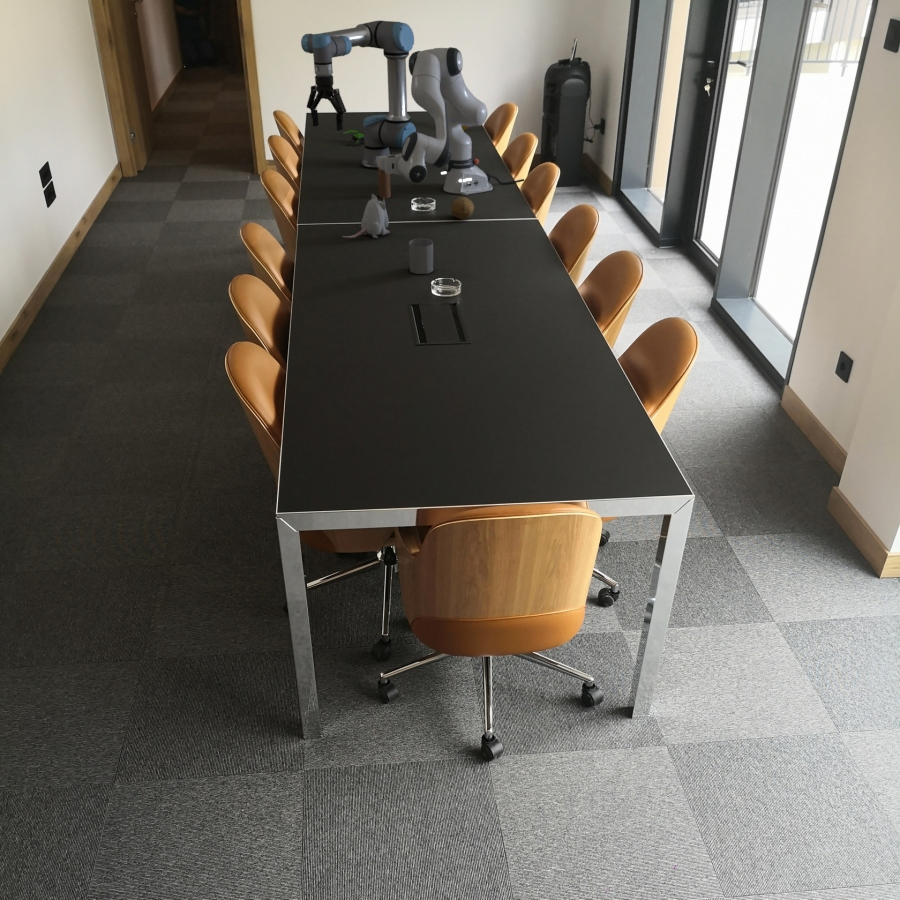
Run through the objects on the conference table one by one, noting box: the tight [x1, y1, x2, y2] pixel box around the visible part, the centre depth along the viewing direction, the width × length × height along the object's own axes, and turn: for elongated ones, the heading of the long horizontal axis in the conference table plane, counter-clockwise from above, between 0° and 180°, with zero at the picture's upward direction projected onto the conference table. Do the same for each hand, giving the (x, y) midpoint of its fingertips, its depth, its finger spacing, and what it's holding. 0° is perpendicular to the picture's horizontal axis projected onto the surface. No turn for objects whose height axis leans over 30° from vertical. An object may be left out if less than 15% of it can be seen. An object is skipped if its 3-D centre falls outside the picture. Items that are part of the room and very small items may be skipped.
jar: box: [377, 167, 392, 199], centre depth 379 cm, size 5×5×15 cm
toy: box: [341, 193, 391, 239], centre depth 332 cm, size 9×24×15 cm, turn 137°
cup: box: [408, 237, 434, 275], centre depth 305 cm, size 8×8×10 cm
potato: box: [450, 196, 475, 220], centre depth 355 cm, size 10×14×8 cm
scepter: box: [341, 129, 365, 146], centre depth 464 cm, size 6×13×30 cm
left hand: (327, 128), depth 372 cm, fingers open, 13 cm apart
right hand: (396, 156), depth 354 cm, fingers open, 8 cm apart
